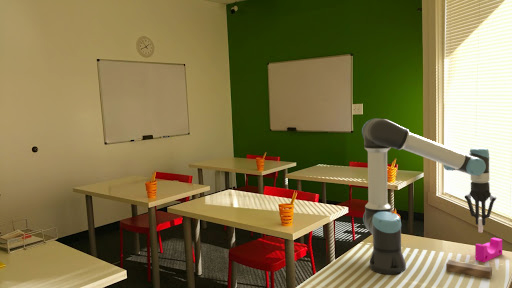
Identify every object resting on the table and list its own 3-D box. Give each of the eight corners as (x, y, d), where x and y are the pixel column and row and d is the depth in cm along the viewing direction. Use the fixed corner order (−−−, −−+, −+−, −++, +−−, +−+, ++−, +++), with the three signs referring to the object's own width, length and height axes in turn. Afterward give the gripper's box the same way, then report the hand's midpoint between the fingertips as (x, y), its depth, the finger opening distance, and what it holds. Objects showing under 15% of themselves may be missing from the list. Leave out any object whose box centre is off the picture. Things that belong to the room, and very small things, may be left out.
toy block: (488, 251, 188) (488, 236, 187) (502, 255, 182) (502, 239, 182) (469, 259, 180) (469, 242, 179) (483, 263, 174) (483, 246, 174)
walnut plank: (446, 270, 168) (446, 263, 168) (448, 266, 172) (448, 259, 172) (490, 278, 158) (490, 271, 158) (491, 274, 162) (491, 267, 162)
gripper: (462, 182, 185) (463, 232, 187) (495, 183, 177) (495, 235, 179) (465, 179, 191) (466, 227, 193) (497, 180, 183) (498, 231, 185)
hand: (480, 231), depth 186 cm, fingers closed
